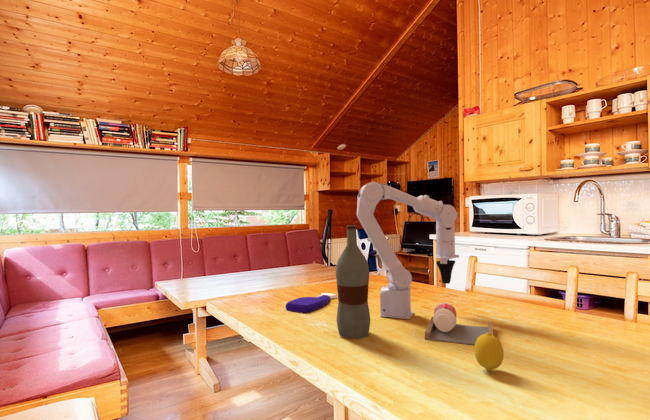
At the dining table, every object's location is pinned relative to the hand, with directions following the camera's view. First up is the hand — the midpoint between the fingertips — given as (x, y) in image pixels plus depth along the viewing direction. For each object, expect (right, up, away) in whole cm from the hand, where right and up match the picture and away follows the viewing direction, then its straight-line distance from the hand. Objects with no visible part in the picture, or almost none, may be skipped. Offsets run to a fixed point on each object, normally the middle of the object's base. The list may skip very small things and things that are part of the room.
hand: (446, 283), depth 118 cm
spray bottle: (-43, -12, +16) cm, 48 cm away
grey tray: (-3, -10, -19) cm, 22 cm away
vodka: (-32, -11, -18) cm, 38 cm away
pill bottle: (-4, -7, -10) cm, 13 cm away
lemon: (-5, -10, -42) cm, 44 cm away
